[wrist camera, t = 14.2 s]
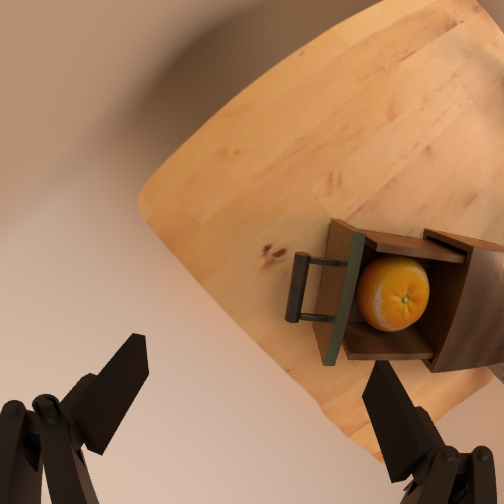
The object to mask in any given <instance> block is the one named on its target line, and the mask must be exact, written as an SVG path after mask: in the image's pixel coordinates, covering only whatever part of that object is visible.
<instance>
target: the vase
mask: <svg viewBox="0 0 504 504" xmlns="http://www.w3.org/2000/svg"><path fill="white" fill-rule="evenodd" d="M487 367H488V368H489V369H490V370H491V371H492V372H493V373H494V374H495V375H496V377H497V378H499V380H500V381H501V382H502V383H503V384H504V363H500V364H495V365H490V366H487Z"/></svg>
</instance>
